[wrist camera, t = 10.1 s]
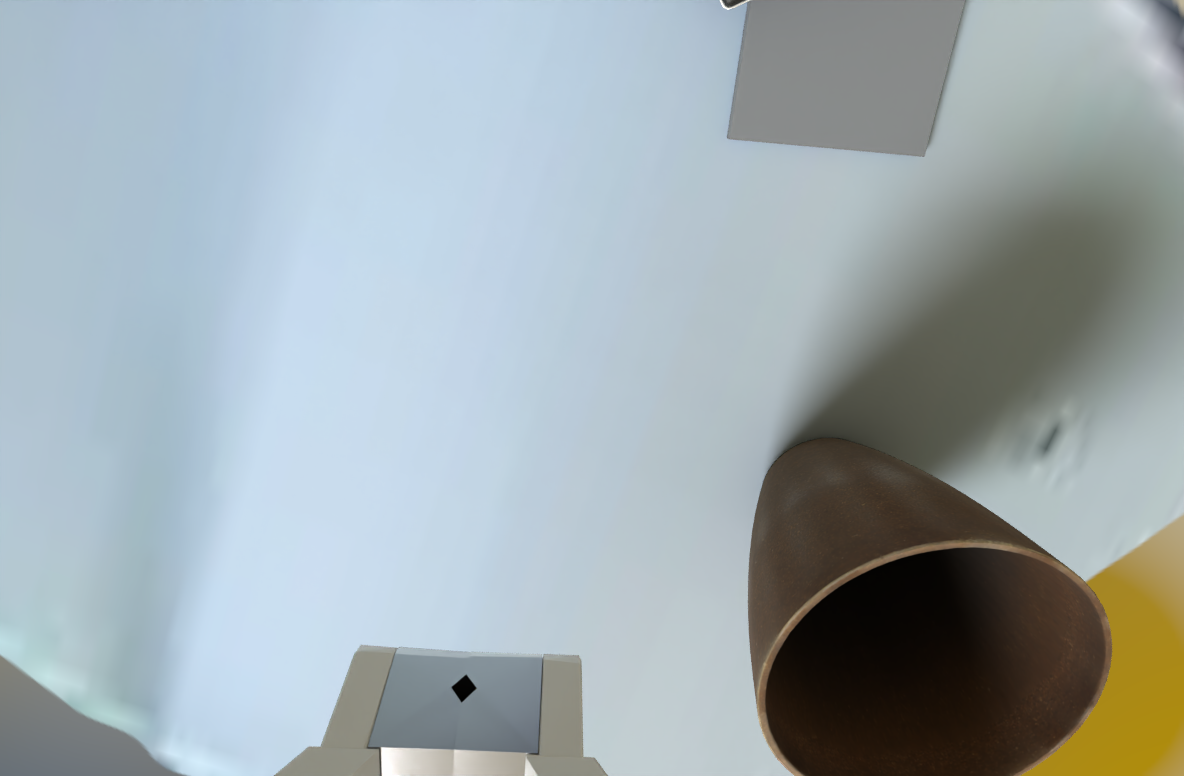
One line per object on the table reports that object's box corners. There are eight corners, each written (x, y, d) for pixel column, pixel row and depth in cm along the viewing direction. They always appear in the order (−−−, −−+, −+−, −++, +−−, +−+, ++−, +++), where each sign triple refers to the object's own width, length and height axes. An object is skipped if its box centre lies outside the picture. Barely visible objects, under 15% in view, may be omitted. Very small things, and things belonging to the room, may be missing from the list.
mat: (726, 138, 37) (729, 139, 36) (775, -178, 32) (779, -182, 31) (919, 155, 38) (924, 156, 37) (998, -152, 32) (1005, -155, 32)
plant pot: (652, 525, 47) (689, 739, 32) (793, 333, 41) (915, 483, 27) (837, 615, 50) (947, 845, 35) (988, 448, 45) (1190, 636, 30)
